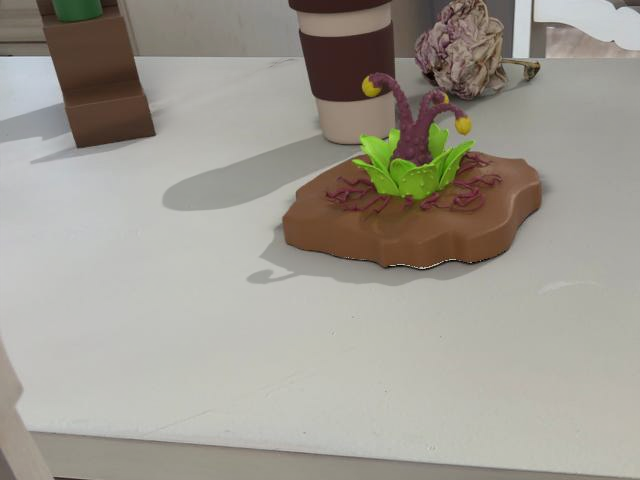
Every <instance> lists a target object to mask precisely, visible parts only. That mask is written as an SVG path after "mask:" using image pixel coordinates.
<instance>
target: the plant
mask: <svg viewBox="0 0 640 480" xmlns="http://www.w3.org/2000/svg"><path fill="white" fill-rule="evenodd" d="M383 83H387V84H388V86H389V87H390V89H392V91H393V96H394V99H395V100H396V103H395V105H396V107H397V110H398V113H397V118H398V120H399V124H398V129H397V128H395V129H391V131H390V133H389V136H388V142H386V141H385V140H384V139H379V138H377V137H373V136H366V135H363V134H362V135H361V136H360V142H361V143H362V144H361V145H360V147H359V148H360V149H361V151H362V152H363V154H359V155H356V156H353V157H350V158H349V159H346V160H344V161H343V162H341V163H339V164H337V165H335V166H333V167H331V168H329V169H327V170H325V171H323V172H321V173H320V174H318V175H316V177H314V178H313V179H311V180H309V181H308V182H306V183H305V184H303V185H302V186H300V187H299V188H297V189H296V191H295V201H294V202H293V203H292V204H291V205H290V207H289V208H288V210H287V211H286V212H285V213H284V215H283V216H281V222H282V229H283V235H284V242H285V244H286V243H287V244H286V245H291V246H293V247H295V248H297V249H299V248H300V250H303V249H304V250H303V251H308V250H313V251H312V252H317V251H322V252H321V253H324V252H326V253H325V254H327V253H329V254H328V255H330V254H333V255H335V256H339V257H338V258H340V257H347V258H348V257H349V258H354V259H364V260H365V259H366V260H371V261H375V262H377V263H376V264H378V263H379V264H378V265H379V266H381V265H382V266H383V267H382V266H381V267H382V268H385V267H387V266H390V265H397V264H405V265H410V266H413V267H414V266H415V267H418V268H420V267H423V268H424V267H429V266H432V265H434V264H437V263H440V262H442V261H445V260H449V259H456V260H460V261H463V262H462V263H464V262H467V263H466V264H469V263H470V262H476V263H478V262H477V261H480V260H483V261H485V260H484V259H487V260H489V259H488V258H490V259H492V258H495V257H497V256H499V255H501V254H503V253H504V251H505V252H506V251H507V250H509V248H510V247H511V246H512V244H513V242H514V240H515V238H516V234H517V231H518V228H519V227H520V226H521V224H522V223H523V222H524V221H525V220H526V218H527V217H528V216H529V215H530V214H532V213H533V212H534V211H536V210H538V209H539V208H540V207H541V206H542V202H543V193H542V192H543V191H542V190H543V189H542V188H543V187H542V181H541V180H540V179H539V178H540V177H539V173H538V171H537V169H536V168H534V167H532V166H531V165H530V164H528V162H527V161H526V159H524V158H520V157H519V158H509V157H500V156H495V155H491V154H488V153H484V152H481V151H474V150H473V151H472V150H471V148H472V147H474V145H476V140H475V139H474V140H468V141H467V140H466V141H464V142H461V143H460V144H458V145H457V146H455V147H453V146H450V147H449V148H448V149H446V145H447V143H448V139H449V137H450V130H448V129H447V128H445V129H442V130H441V129H440V127H439V126H438V125H437V124H436V123H435V119H436V117H437V116H438V115H440V114H442V112H443V113H446V112H447V111H451V112H452V113H454V117H455V120H454V128H455V130H456V132H457V133H458V134H460V135H463V136H464V137H466V136H467V135H468V134H469V133H470V132H471V131H472V128H473V123H472V120H471V118H470V117H469V115H468V114H467V113H466V112H465V111H464V110H463V109H461V108H460V107H457V105H456V104H452V103H451V102H450V99H449V96H448V95H447V93H443V91H440V89H434V88H433V89H432V90H429V91H428V92H427V93H426V94H425V95H424V96H422V100H421V101H420V103H419V106H420V107H419V108H418V114H417V119H416V120H414V117H413V112H412V111H411V106H410V103H409V102H408V97H407V95H406V94H405V92H404V90H402V88H401V85H400V84H398V80H397V79H396V80H395V79H393V78H392V77H390V76H389V75H387V74H383V73H378V72H377V73H375V74H370V75H369V76H368V77H366V78H365V79H364V81H363V83H362V89H363V92H364V93H365V94H366V96H369V97H374V96H376V95H377V94H378V93H379V92H380V91H381V88H382V84H383ZM431 102H432V106H431V108H430V107H429V106H430V104H431ZM314 250H315V251H314ZM502 252H503V253H502ZM498 254H499V255H498ZM333 255H332V256H333ZM335 256H334V257H335ZM494 256H495V257H494ZM371 261H370V262H371ZM460 261H459V262H460ZM375 262H374V263H375ZM480 262H481V261H480ZM387 268H388V267H387Z"/></svg>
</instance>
